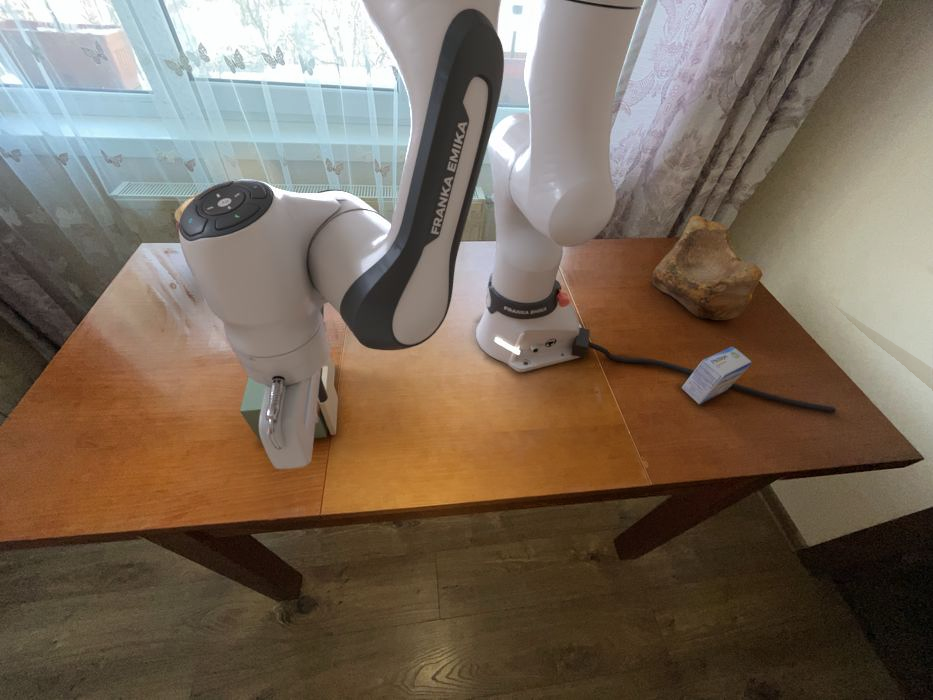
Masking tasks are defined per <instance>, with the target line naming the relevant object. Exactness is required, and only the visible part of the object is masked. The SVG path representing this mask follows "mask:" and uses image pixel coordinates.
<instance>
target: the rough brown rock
mask: <svg viewBox="0 0 933 700" xmlns="http://www.w3.org/2000/svg"><path fill="white" fill-rule="evenodd" d="M763 276H764V275H763V272H762V270H761V268H760V267H759V266H758V265H756V264H755V263H753V262H745V261H741V260H740V259H739V257H738V255H737V252H736V249H735V247H734V246H733V244H732V242H731V241H730V231H729V228H728V227H727V226H726V225H725V224H723V223H721V222H718V221H714V220H710V221H709V220H708V219H707V218H705V217H703V216H701V215H692V216H691V217H690V218H689V221H688V223H687V225H686V226H685V229H684V230H683V233H682V234H681V236H680V238H679V239H678V241H676V243H675V244H674V245H673V246H672V248H671V250H670V251H668V252H667V254H666V255H665V256H664V257H663V258H662V260H661V261H660V262H659V263H658V264H657V265H656V267H655V269H654V270H653V272H652V279H653V281H652V285H653V286H654V287H655V288H656V289H657V290H659V291H660V292H662V293H665V294H666V295H668V296H670V297H672V298H673V299H675V300H676V301H677V302H678V303H680V304H681V305H682V306H683V307H684V308H685V309H686V310H687V311H688V312H690V313H691V314H693V315H694V316H695V317H697V318H698V319H710V320H711V321H728V320H731V319H735V318H737V317H739V316H740V315H741V314H742V313H743V312H744V310H745V309H746V307H747V306H748V305H749V304H750V303H751V301H752V300H753V293H754V290H755V289H756V287H757V286H758V284H759V283H760V281H761V279H762V277H763Z"/></svg>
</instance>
